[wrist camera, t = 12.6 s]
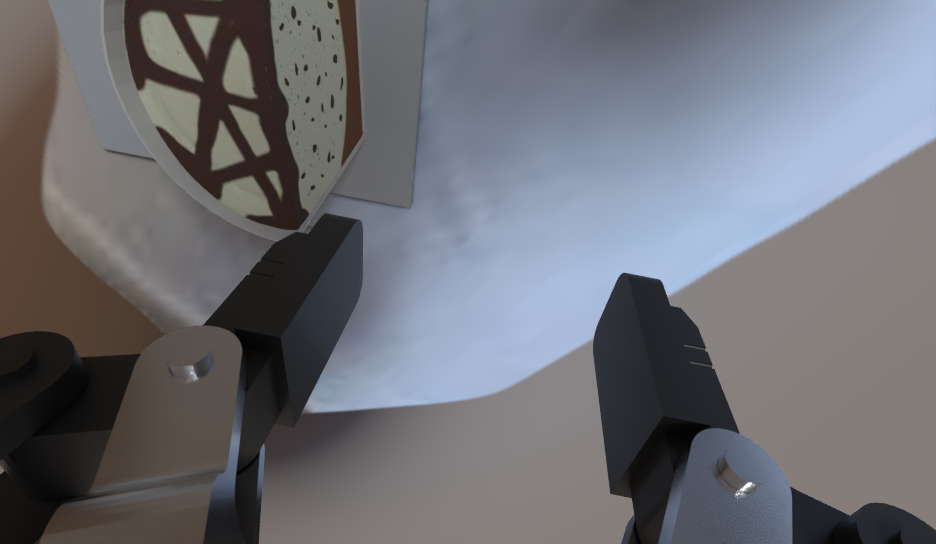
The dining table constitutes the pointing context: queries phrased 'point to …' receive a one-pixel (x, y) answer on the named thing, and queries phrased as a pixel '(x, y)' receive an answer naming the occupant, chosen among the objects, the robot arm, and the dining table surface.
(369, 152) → the felt mat
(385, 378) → the dining table surface
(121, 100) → the food container
